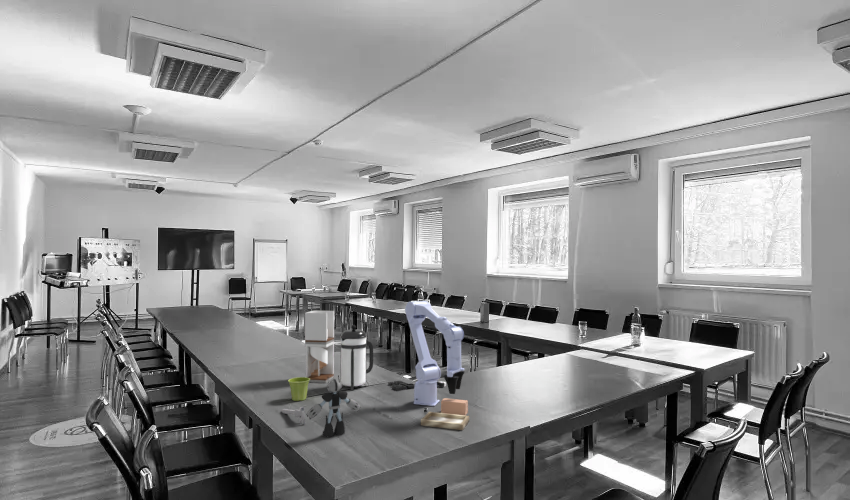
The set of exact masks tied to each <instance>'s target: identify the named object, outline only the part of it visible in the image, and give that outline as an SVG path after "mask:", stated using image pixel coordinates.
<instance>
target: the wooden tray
mask: <svg viewBox="0 0 850 500" xmlns="http://www.w3.org/2000/svg"><path fill="white" fill-rule="evenodd" d="M469 422H470V415H466V416H465V415H456V414H446V413H441V412H436V411H428V412H427V413H426V414H425V415H424V416H423V417H422V418H421V419H420V426H423V427H424V426H425V427H433V428H440V429H449V430H456V431H457V430H460V431H464V430H465V428H466V426H467V425H468V424H469Z"/></svg>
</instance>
